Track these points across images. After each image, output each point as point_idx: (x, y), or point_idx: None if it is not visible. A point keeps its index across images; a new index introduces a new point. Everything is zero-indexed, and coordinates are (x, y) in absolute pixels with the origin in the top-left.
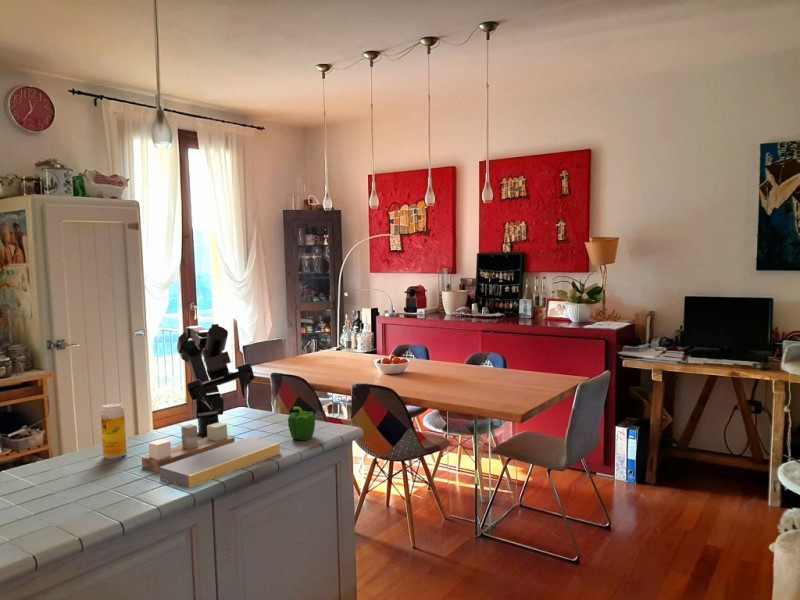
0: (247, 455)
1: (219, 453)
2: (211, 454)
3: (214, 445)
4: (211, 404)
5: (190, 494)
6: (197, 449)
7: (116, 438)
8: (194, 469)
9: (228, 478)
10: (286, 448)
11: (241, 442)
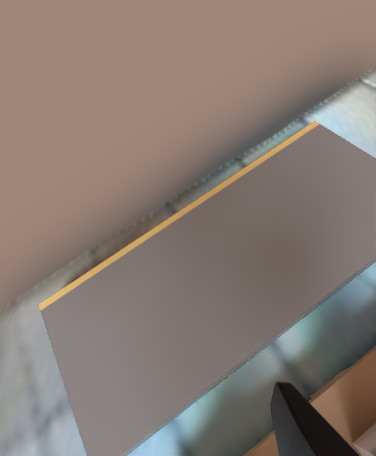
0: (158, 225)
1: (241, 271)
2: (270, 272)
3: (266, 439)
4: (292, 431)
5: (303, 117)
6: (342, 378)
7: None
8: (310, 156)
9: (223, 175)
10: (22, 361)
11: (147, 386)
